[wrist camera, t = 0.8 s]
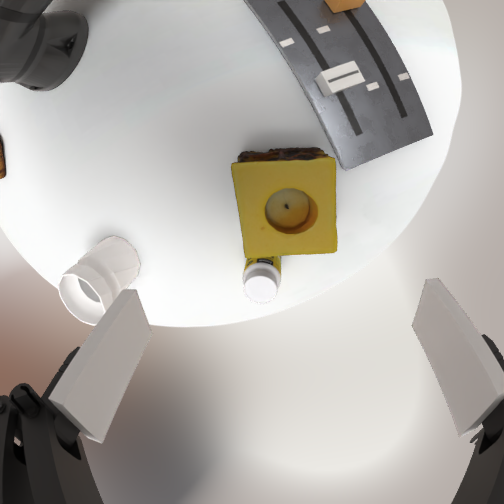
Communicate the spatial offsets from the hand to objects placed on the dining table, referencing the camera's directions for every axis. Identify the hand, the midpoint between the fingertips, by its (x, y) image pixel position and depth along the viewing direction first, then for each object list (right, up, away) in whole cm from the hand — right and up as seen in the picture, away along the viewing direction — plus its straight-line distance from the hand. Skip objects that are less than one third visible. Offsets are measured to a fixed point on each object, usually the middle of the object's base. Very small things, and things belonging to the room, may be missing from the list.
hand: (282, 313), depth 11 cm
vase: (-24, +1, +30) cm, 39 cm away
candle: (+3, +11, +23) cm, 26 cm away
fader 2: (+8, +22, +14) cm, 28 cm away
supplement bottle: (0, +2, +28) cm, 28 cm away
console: (+10, +27, +14) cm, 32 cm away
